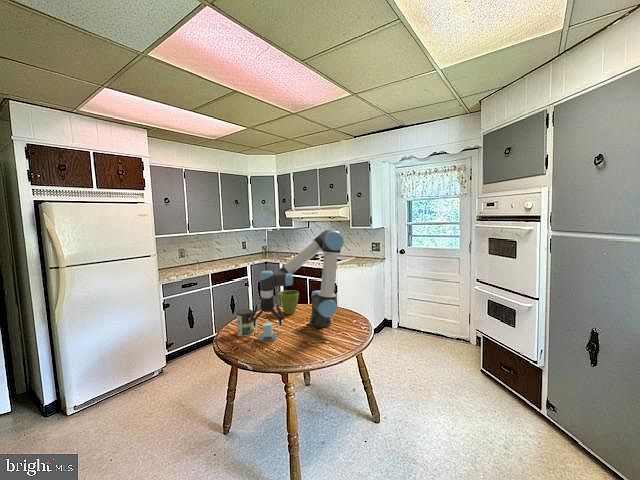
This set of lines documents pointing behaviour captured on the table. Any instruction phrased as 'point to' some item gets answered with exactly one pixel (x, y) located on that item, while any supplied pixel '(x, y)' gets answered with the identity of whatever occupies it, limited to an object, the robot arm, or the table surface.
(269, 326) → the mint green block
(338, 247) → the robot arm
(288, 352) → the table surface
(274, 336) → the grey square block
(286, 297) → the flower pot
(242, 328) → the coffee can
